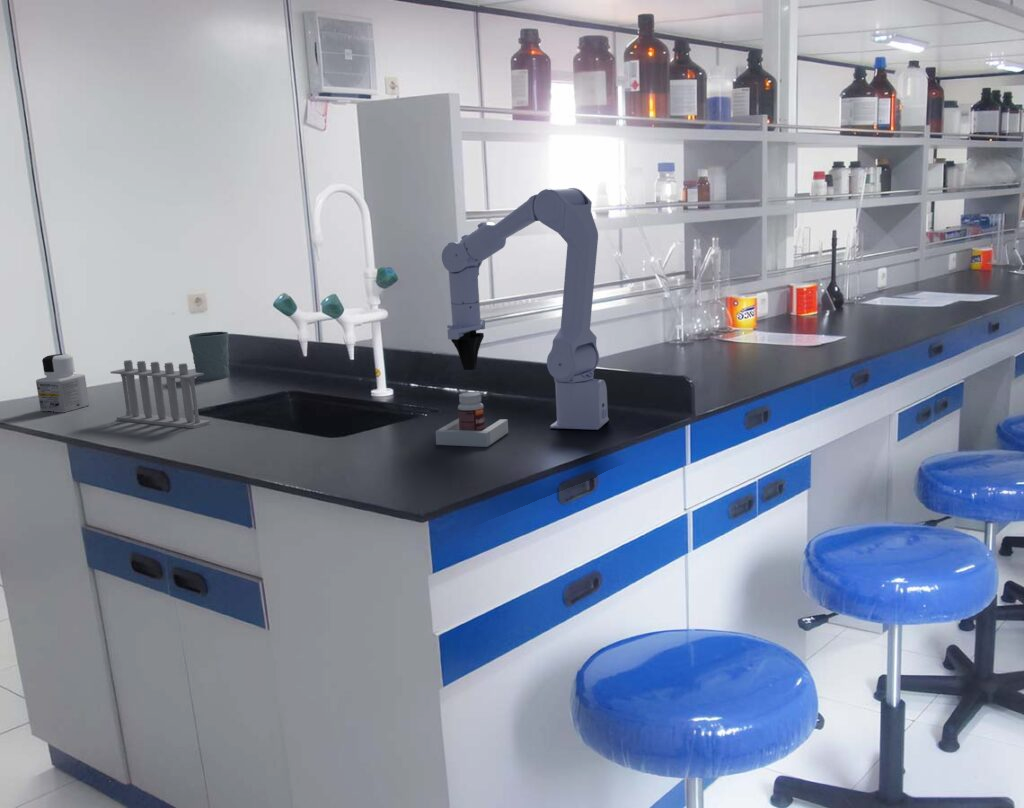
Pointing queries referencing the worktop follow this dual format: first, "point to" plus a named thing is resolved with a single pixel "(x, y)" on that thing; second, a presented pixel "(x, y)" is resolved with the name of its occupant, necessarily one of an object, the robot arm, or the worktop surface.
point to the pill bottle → (471, 412)
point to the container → (61, 385)
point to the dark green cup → (210, 355)
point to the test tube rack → (160, 395)
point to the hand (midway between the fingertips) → (469, 369)
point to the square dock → (471, 434)
